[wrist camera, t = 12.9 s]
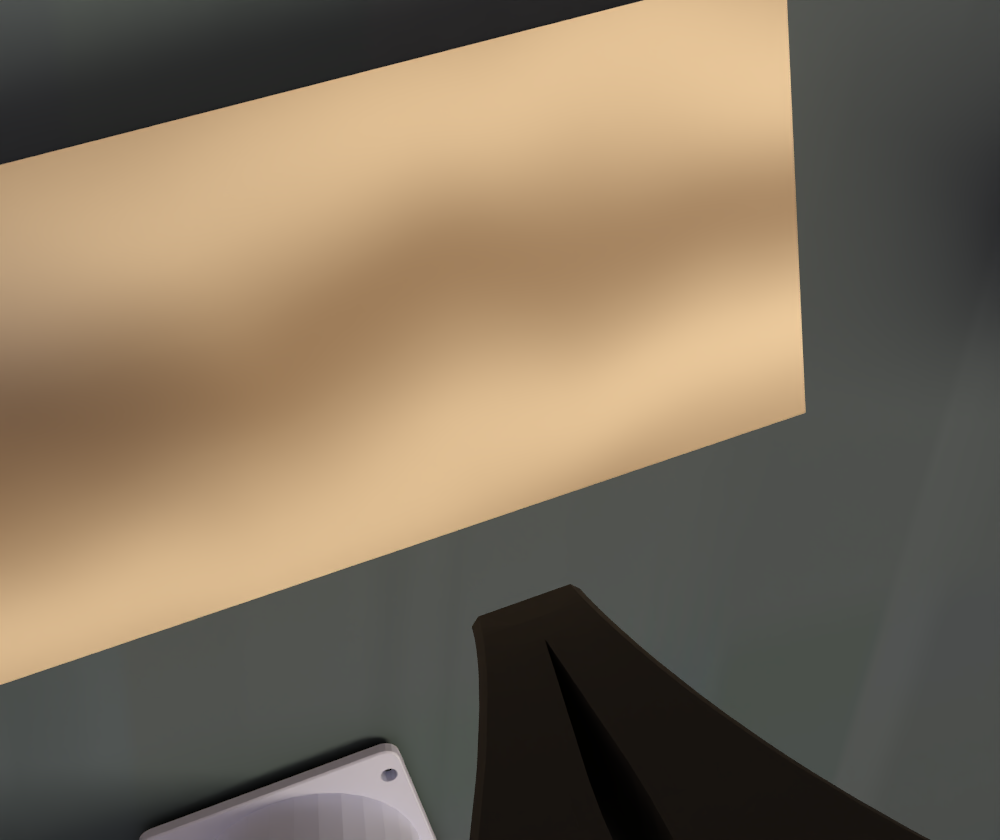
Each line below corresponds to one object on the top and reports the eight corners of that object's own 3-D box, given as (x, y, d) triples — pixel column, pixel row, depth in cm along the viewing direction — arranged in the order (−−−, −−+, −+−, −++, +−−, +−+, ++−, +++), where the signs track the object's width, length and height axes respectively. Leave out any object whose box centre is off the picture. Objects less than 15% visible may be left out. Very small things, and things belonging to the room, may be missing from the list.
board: (718, 357, 21) (805, 412, 17) (-203, 653, 18) (-328, 795, 14) (681, -10, 17) (784, -37, 13) (-517, 296, 14) (-801, 370, 10)
